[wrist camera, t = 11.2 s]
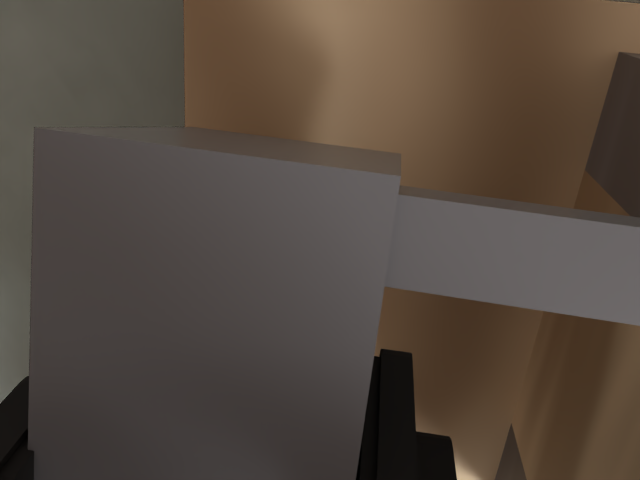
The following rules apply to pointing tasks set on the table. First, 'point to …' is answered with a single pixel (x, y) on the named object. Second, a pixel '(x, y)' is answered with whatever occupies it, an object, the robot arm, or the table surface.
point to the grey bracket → (259, 294)
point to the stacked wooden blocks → (463, 188)
